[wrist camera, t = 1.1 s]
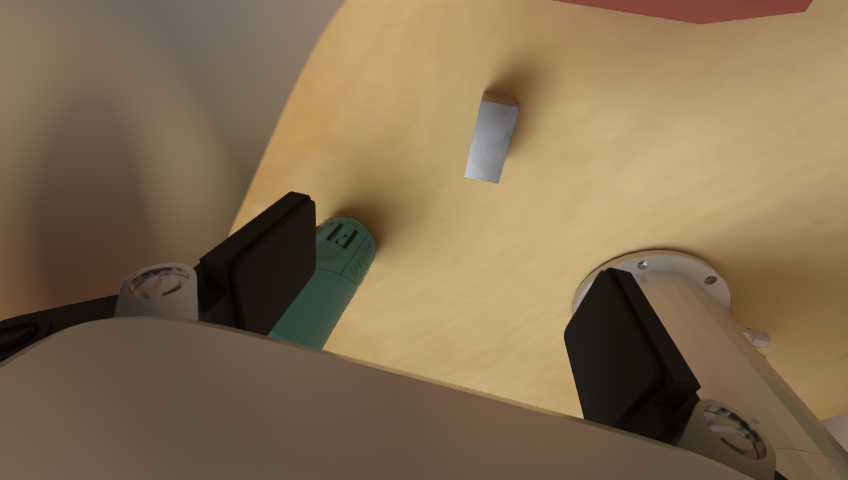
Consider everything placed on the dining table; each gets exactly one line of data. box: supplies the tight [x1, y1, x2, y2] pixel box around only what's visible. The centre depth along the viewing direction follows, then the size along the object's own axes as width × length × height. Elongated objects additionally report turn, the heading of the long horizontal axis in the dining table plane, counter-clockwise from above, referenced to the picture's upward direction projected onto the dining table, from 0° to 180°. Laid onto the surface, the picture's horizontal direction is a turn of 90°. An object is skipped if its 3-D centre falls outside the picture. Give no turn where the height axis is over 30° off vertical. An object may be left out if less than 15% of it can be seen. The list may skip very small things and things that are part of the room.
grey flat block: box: [464, 92, 520, 183], centre depth 23 cm, size 2×5×5 cm, turn 171°
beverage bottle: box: [268, 217, 376, 350], centre depth 25 cm, size 6×7×20 cm
